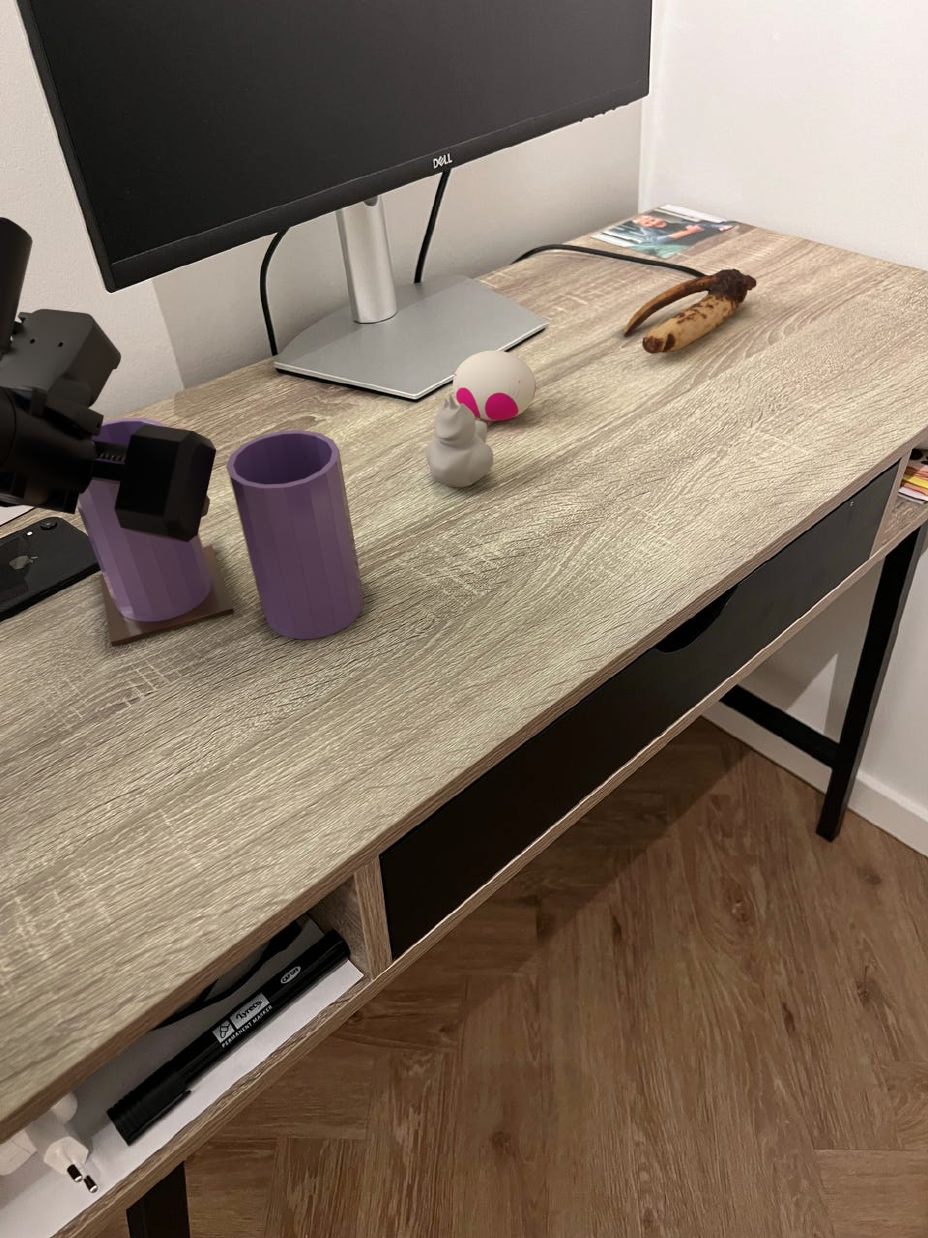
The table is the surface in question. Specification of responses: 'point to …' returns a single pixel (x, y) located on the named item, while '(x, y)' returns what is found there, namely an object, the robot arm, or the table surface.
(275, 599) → the tumbler
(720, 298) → the lashed bone hook
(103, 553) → the tumbler
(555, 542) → the table surface
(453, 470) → the rubber duck
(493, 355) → the stress ball
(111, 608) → the coaster
